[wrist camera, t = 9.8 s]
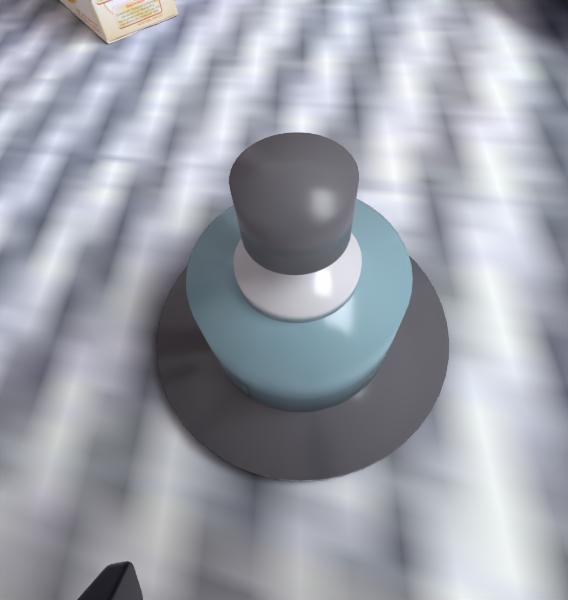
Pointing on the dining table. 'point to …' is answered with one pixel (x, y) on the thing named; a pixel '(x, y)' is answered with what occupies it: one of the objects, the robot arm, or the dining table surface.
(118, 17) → the coffeecake box
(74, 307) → the dining table surface
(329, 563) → the dining table surface
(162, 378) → the tiered round stand
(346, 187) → the knob
